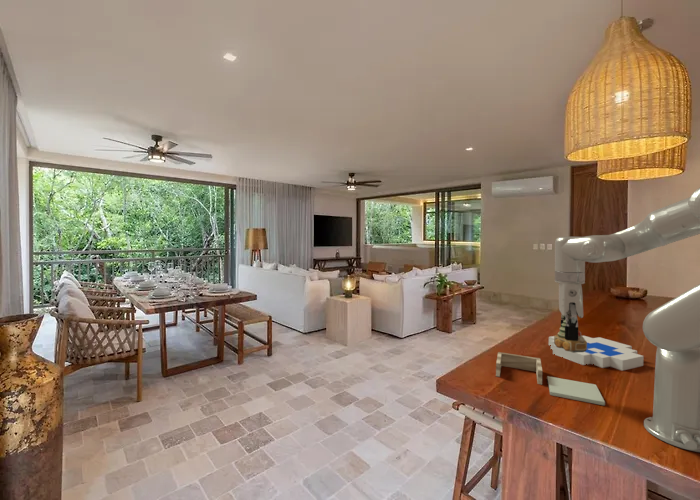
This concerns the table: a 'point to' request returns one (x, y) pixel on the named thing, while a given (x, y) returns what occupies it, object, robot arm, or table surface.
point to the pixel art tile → (602, 354)
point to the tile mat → (575, 390)
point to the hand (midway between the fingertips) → (569, 336)
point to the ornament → (569, 341)
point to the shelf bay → (519, 364)
